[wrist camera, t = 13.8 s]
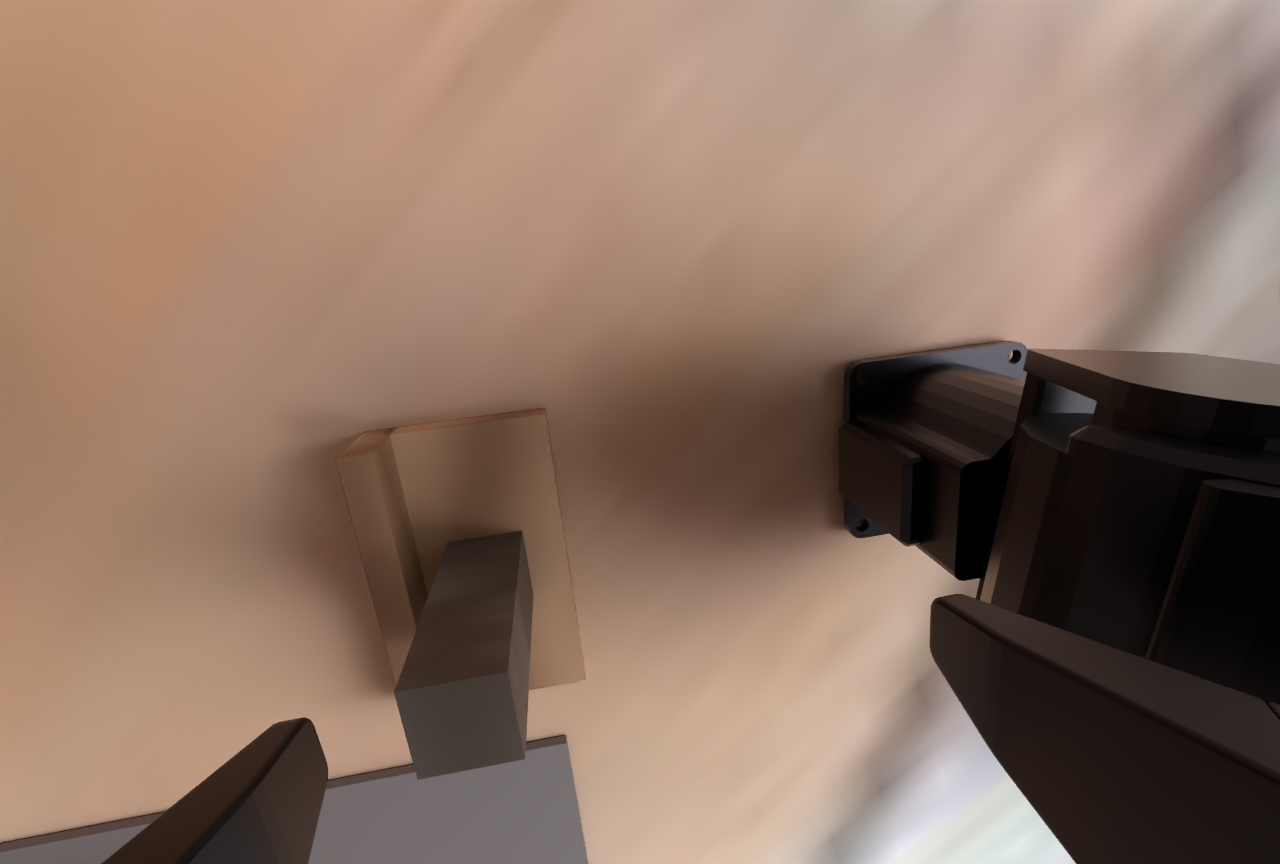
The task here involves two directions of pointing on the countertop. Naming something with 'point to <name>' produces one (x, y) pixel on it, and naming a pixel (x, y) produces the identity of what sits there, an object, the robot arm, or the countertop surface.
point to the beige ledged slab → (465, 579)
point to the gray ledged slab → (402, 819)
